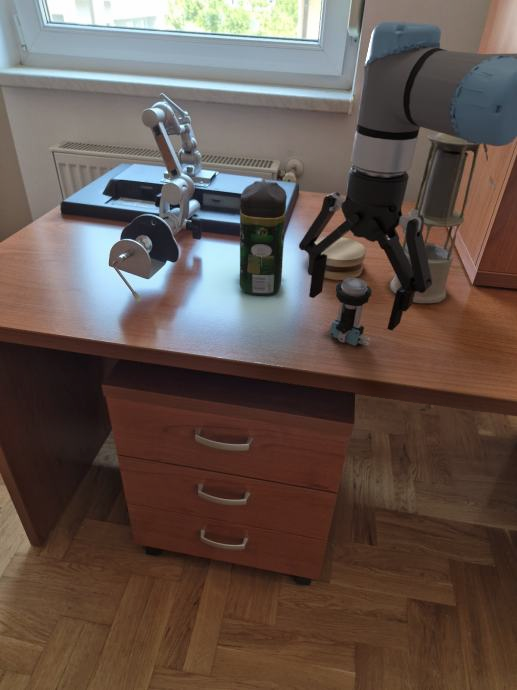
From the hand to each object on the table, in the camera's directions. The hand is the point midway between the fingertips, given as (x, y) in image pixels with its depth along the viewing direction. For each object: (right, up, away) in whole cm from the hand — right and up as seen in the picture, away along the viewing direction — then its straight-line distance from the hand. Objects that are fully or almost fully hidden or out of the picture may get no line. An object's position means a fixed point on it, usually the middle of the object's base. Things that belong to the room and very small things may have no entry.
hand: (352, 309), depth 73 cm
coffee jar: (-14, +6, +17) cm, 23 cm away
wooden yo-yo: (+1, +10, +24) cm, 26 cm away
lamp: (+17, +5, +17) cm, 25 cm away
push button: (0, -5, +3) cm, 6 cm away
